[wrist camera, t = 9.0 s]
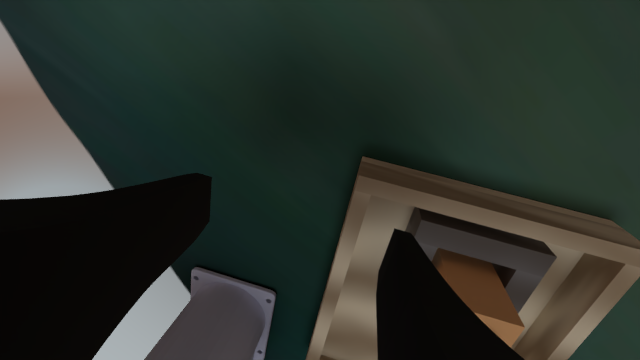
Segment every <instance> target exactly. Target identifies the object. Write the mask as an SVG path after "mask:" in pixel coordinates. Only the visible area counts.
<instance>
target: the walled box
mask: <svg viewBox="0 0 640 360" xmlns="http://www.w3.org/2000/svg"><path fill="white" fill-rule="evenodd" d="M394 228H395V229H399V230H402V231H406V232H409V233H411V234H412V235H413V236H414V238H415V239H416V240H417V242H418V243H419V245H420V246H421V248H422V249H423V251H424V252H425V253H426V255H427V256H428V258H429V259H430V261H432V259H433V257H434V255H435V253H436V251H437V248H441V249H445V250H448V251H452V252H455V253H459V254H462V255H466V256H469V257H473V258H477V259H480V260H484V261H487V262H491V263H492V265H493V267H494V269H495V271H496V273H497V275H498V277H499V278H500V280H501V282H502V284H503V286H504V288H505V290H506V292H507V294H508V296H509V298H510V300H511V301H512V303H513V305H514V307H515V309H516V311H517V313H518V315H519V317H520V319H521V321H522V322H523V324H524V326H525V329H524V330H523V331H522V333H521V334H520V336H519V337H518V338H517V340H516V341H515V342H514V344H513V345H512V347H511V348H512V349H513V350H514V351H515V352H516V353H518V354H519V355H520V356H521V357H522V358H524V359H525V360H567V359H568V358H569V357H570V356H571V355H572V354H573V352H574V351H575V350H576V349H577V348H578V347H579V346H580V344H581V343H582V342H583V341H584V340H585V339H586V337H587V336H588V335H589V334H590V333H591V332H592V331H593V329H594V328H595V327H596V326H597V325H598V324H599V322H600V321H601V320H602V319H603V318H604V317H605V316H606V314H607V313H608V312H609V311H610V310H611V309H612V308H613V306H614V305H615V304H616V303H617V302H618V301H619V299H620V298H621V297H622V296H623V295H624V294H625V293H626V291H627V290H628V289H629V288H630V287H631V286H632V285H633V283H634V282H635V281H636V280H637V279H638V278H639V276H640V241H639V240H638V239H636V238H635V237H633V236H632V235H631V234H629V233H628V232H626V231H625V230H624V229H622V228H621V227H620V226H618V225H617V224H615V223H614V222H613V221H611V220H607V219H604V218H600V217H596V216H592V215H588V214H584V213H580V212H577V211H573V210H569V209H565V208H561V207H557V206H553V205H549V204H546V203H542V202H538V201H534V200H530V199H526V198H522V197H519V196H515V195H511V194H507V193H503V192H499V191H495V190H491V189H488V188H484V187H480V186H476V185H472V184H468V183H464V182H460V181H457V180H453V179H449V178H445V177H441V176H437V175H433V174H430V173H426V172H422V171H418V170H414V169H410V168H406V167H402V166H399V165H395V164H391V163H387V162H383V161H379V160H375V159H372V158H368V157H364V156H362V159H361V163H360V167H359V170H358V174H357V177H356V181H355V184H354V188H353V191H352V195H351V199H350V202H349V206H348V209H347V213H346V216H345V220H344V223H343V227H342V231H341V234H340V238H339V241H338V245H337V248H336V252H335V255H334V259H333V263H332V266H331V270H330V273H329V277H328V280H327V284H326V287H325V291H324V295H323V298H322V302H321V305H320V309H319V312H318V316H317V320H316V323H315V327H314V330H313V334H312V337H311V341H310V344H309V348H308V352H307V356H306V360H378V351H377V318H376V290H377V280H378V271H379V268H380V266H381V263H382V260H383V258H384V255H385V252H386V250H387V247H388V244H389V242H390V239H391V236H392V234H393V231H394Z"/></svg>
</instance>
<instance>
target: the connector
mask: <svg viewBox="0 0 640 360" xmlns="http://www.w3.org/2000/svg"><path fill="white" fill-rule="evenodd" d="M431 262H432V263H433V265H434V266H435V267H436V269H437V270H438V271H439V273H440V274H441V275H442V277H443V278H444V279H445V281H446V282H447V283H448V284H449V285H450V287H451V288H452V289H453V290H454V291H455V293H456V294H457V295H458V296H459V297H460V298H461V299H462V301H463V302H464V303H465V304H466V305H467V306H468V307H469V308H470V309H471V310H472V311H473V312H474V313H475V314H476V315H477V316H478V317H479V319H480V320H481V321H482V322H483V323H485V324H486V325H487V326H488V327H489V328H490V329H491V330H492V331H493V332H494V333H495V334H496V335H497V336H498V337H500V338H501V339H502V340H503V341H504V342H505V343H506V344H507V345H508V346H509V347H512V345H513V344H514V342H515V341H516V340H517V338H518V337H519V336H520V334H521V333H522V331H523V330H524V329H525V326H524V324H523V322H522V321H521V319H520V317H519V315H518V313H517V311H516V309H515V307H514V305H513V303H512V301H511V300H510V298H509V296H508V294H507V292H506V290H505V288H504V286H503V284H502V282H501V280H500V278H499V277H498V275H497V273H496V271H495V269H494V267H493V265H492V263H491V262H487V261H484V260H480V259H477V258H473V257H469V256H466V255H462V254H459V253H455V252H452V251H448V250H445V249H441V248H437V251H436V253H435V255H434V257H433V259H432V261H431Z"/></svg>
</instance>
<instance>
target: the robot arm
mask: <svg viewBox="0 0 640 360" xmlns="http://www.w3.org/2000/svg"><path fill="white" fill-rule="evenodd" d="M211 180H212V177H210V176H206V175H203V174H199V173H193V174H186V175H181V176H176V177H172V178H167V179H163V180H158V181H154V182H149V183H145V184H140V185H135V186H130V187H125V188H120V189H114V190H109V191H103V192H96V193H89V194H80V195H73V196H60V197H47V198H33V199H9V200H0V360H92V359H93V357H94V356H95V355H96V353H97V352H98V351H99V349H100V348H101V346H102V345H103V344H104V342H105V341H106V340H107V338H108V337H109V336H110V335H111V333H112V332H113V331H114V329H115V328H116V327H117V325H118V324H119V323H120V322H121V320H122V319H123V318H124V316H125V315H126V314H127V313H128V311H129V310H130V309H131V308H132V307H133V305H134V304H135V303H136V302H137V300H138V299H139V298H140V297H141V296H142V294H143V293H144V292H145V291H146V290H147V289H148V288H149V287H150V285H151V284H152V283H153V282H154V281H155V280H156V279H157V278H158V277H159V276H160V275H161V274H162V273H163V272H164V271H165V270H166V269H167V268H168V267H169V266H170V265H171V264H172V263H173V262H174V261H175V260H176V259H177V258H178V257H179V256H180V255H181V254H182V253H183V252H184V251H185V250H186V249H187V248H188V247H189V246H190V245H191V244H192V243H193V242H194V241H195V240H196V238H197V237H198V236H199V235H200V233H201V232H202V231H203V229H204V228H205V226H206V225H207V224H208V222H209V218H210V199H211ZM269 299H270V300H269ZM275 299H276V293H275V292H274V291H272V290H270V289H266V288H263V287H260V286H257V285H254V284H250V283H247V282H244V281H241V280H238V279H234V278H231V277H228V276H225V275H222V274H218V273H215V272H212V271H209V270H206V269H202V268H199V267H195V268H194V269H193V270H192V271H191V300H190V302H189V303H188V304H187V306H186V307H185V308H184V309H183V311H182V312H181V313H180V315H179V316H178V317H177V319H176V320H175V321H174V322H173V324H172V325H171V326H170V327H169V329H168V330H167V331H166V332H165V334H164V335H163V336H162V337H161V339H160V340H159V341H158V343H157V344H156V345H155V347H154V348H153V349H152V350H151V352H150V353H149V354H148V355H147V357H146V358H145V359H144V360H264V357H265V352H266V347H267V342H268V336H269V331H270V326H271V320H272V315H273V310H274V305H275ZM376 318H377V351H378V360H525V359H524V358H522V357H521V356H520V355H519V354H518V353H516V352H515V351H514V350H513V349H512V348H511V347H509V346H508V345H507V344H506V343H505V342H504V341H503V340H502V339H501V338H500V337H498V336H497V335H496V334H495V333H494V332H493V331H492V330H491V329H490V328H489V327H488V326H487V325H486V324H485V323H483V322H482V321H481V320H480V319H479V317H478V316H477V315H476V314H475V313H474V312H473V311H472V310H471V309H470V308H469V307H468V306H467V305H466V304H465V303H464V302H463V301H462V299H461V298H460V297H459V296H458V295H457V294H456V293H455V291H454V290H453V289H452V288H451V287H450V285H449V284H448V283H447V282H446V281H445V279H444V278H443V277H442V275H441V274H440V273H439V271H438V270H437V269H436V267H435V266H434V265H433V263H432V262H431V261H430V259H429V258H428V256H427V255H426V253H425V252H424V251H423V249H422V248H421V246H420V245H419V243H418V242H417V240H416V239H415V238H414V236H413V235H412V234H411V233H409V232H406V231H402V230H399V229H395V228H394V231H393V234H392V236H391V239H390V242H389V244H388V247H387V250H386V252H385V255H384V258H383V260H382V263H381V266H380V268H379V271H378V280H377V290H376Z"/></svg>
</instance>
